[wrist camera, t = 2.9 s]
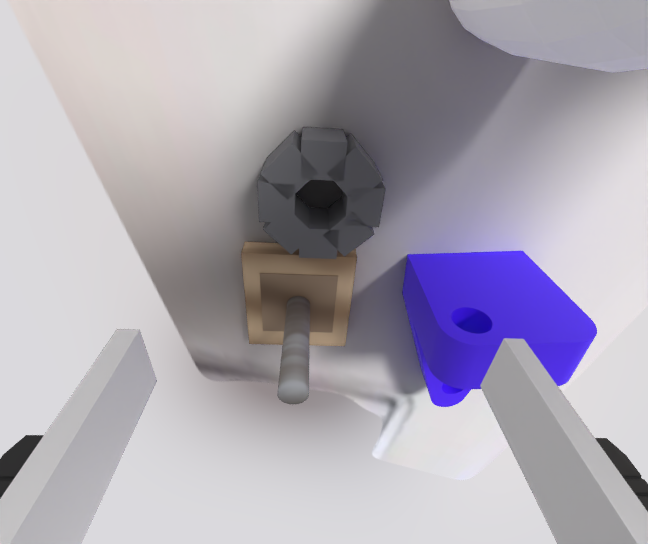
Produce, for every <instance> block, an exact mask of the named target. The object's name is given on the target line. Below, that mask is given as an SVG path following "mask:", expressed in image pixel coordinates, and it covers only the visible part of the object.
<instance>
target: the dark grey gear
mask: <svg viewBox="0 0 648 544" xmlns="http://www.w3.org/2000/svg"><path fill="white" fill-rule="evenodd" d="M310 180H330V181H334V182H335V183H336V184H337V185H338V186H339V187H340V188H341V190H342V197H341V198H340V199H338V200H337V201H336V202H335V203H334V204H332V205H331V206H330V207H329V208H311V207H309V206H308V205H307V204H306V203H305V202H304V201H303V200H302V199H301V198H300V197H299V196H298V195H297V192H298V191H299V190H300V189H301V188H302V187H303V186H304V185H305V184H306V183H308V182H309V181H310ZM382 181H383V179H382V177H381V175H380V173H379V171H378V169H377V167H376V165H375V163H374V162H373V161H372V159H371V158H370V157H369V155H368V154H367V153H366V152H365V150H364V149H363V148H362V147H361V145H360V144H359V143H358V142H357V140H356V139H355V138H354V137H353V135H352V134H350V135H349V136H348V137H345V134H344V131H343V129H329V128H312V127H303V131H302V138H301V137H300V136H299V134H298V133H297V132H296V131H295V130H294V131H293V132H292V133H291V134H290V135H289V136H288V137H287V138H286V139H285V140H284V141H283V142H282V143H281V144H280V145H279V146H278V147H277V148H276V149H275V150H274V151H273V152H272V153H271V154H270V155H269V156H268V157H267V159H266V162H265V164H264V166H263V169H262V171H261V174H260V177H259V179H258V182H257V189H258V208H259V222H265V224H264V228H263V230H264V231H265V232H266V233H268V234H269V235H270V236H271V237H272V238H273V239H274V240H275V241H276V242H278V243H279V244H280V245H281V246H282V247H283V248H284V249H285V250H287V251H288V252H289V253H290V254H292V253H294V252H295V251H296V250H297V249H299V258H321V259H336V257H337V250H338V251H339V252H340V253H341V254H342V255H343V256H344V257H345V256H346V255H347V254H349V253H350V252H351V251H353V250H354V249H355V248H357V247H358V246H359V245H361V244H362V243H363V242H365V241H366V240H367V239H369V238H370V237H371V236H373V235H374V231H373V228H372V227H379V224H380V218H381V212H382V206H383V200H384V194H385V187H384V185H383V183H382Z"/></svg>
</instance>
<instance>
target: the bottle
mask: <svg viewBox="0 0 648 544" xmlns="http://www.w3.org/2000/svg"><path fill="white" fill-rule="evenodd" d="M449 2H450V6H451V9H452V10H453V12H454V13H455V15H456V17H457V18H458V20H459V21H460V23H461V24H462V26H463V27H464V28H465V29H466V30H467V31H469V32H470V33H472V34H473V35H475V36H476V37H478V38H479V39H481V40H482V41H484V42H487V43H489V44H491V45H493V46H495V47H497V48H499V49H501V50H503V51H505V52H507V53H509V54H511V55H515V56H521V57H526V58H532V59H537V60H543V61H548V62H554V63H560V64H565V65H571V66H576V67H582V68H588V69H594V70H599V71H605V72H611V73H617V72H625V71H633V70H641V69H648V0H449Z"/></svg>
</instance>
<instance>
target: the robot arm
mask: <svg viewBox="0 0 648 544" xmlns="http://www.w3.org/2000/svg"><path fill="white" fill-rule="evenodd" d="M156 381H157V380H156V377H155V374H154V371H153V369H152V365H151V362H150V359H149V356H148V353H147V350H146V347H145V344H144V341H143V339H142V336H141V333H140V330H129V329H117V330H116V331H115V333H114V334H113V336H112V337H111V339H110V340H109V342H108V343H107V344H106V346H105V347H104V349H103V350H102V352H101V353H100V355H99V356H98V357H97V359H96V360H95V362H94V363H93V365H92V366H91V368H90V369H89V371H88V372H87V373H86V375H85V376H84V378H83V379H82V381H81V382H80V384H79V385H78V387H77V388H76V390H75V391H74V392H73V394H72V395H71V397H70V398H69V400H68V401H67V403H66V404H65V406H64V407H63V408H62V410H61V411H60V413H59V414H58V416H57V417H56V419H55V420H54V422H53V423H52V424H51V426H50V427H49V429H48V430H47V432H46V433H45V435H40V436H39V435H38V436H37V435H26V436H25V437H24V438H22V439H21V440H20V441H19V442H18V443H16V444H15V445H14V446H13V447H12V448H11V449H9V450H8V451H7V452H6V453H5V454H4V455H3V456H2V458H1V459H0V544H81V543H82V541H83V539H84V537H85V534H86V532H87V530H88V528H89V526H90V524H91V522H92V520H93V517H94V515H95V513H96V511H97V509H98V507H99V504H100V502H101V500H102V498H103V495H104V493H105V491H106V489H107V487H108V485H109V483H110V481H111V479H112V476H113V474H114V472H115V470H116V468H117V466H118V463H119V461H120V459H121V457H122V455H123V453H124V451H125V448H126V446H127V444H128V442H129V440H130V438H131V435H132V433H133V431H134V429H135V427H136V424H137V422H138V420H139V418H140V416H141V414H142V412H143V409H144V407H145V405H146V403H147V401H148V398H149V396H150V394H151V392H152V390H153V388H154V386H155V384H156ZM480 387H481V389H482V391H483V393H484V395H485V397H486V399H487V401H488V403H489V405H490V407H491V409H492V411H493V413H494V415H495V417H496V419H497V421H498V423H499V425H500V428H501V430H502V432H503V434H504V436H505V438H506V440H507V442H508V444H509V446H510V448H511V450H512V452H513V454H514V456H515V458H516V460H517V462H518V464H519V466H520V468H521V470H522V472H523V474H524V476H525V479H526V481H527V483H528V485H529V487H530V489H531V491H532V493H533V495H534V497H535V499H536V500H537V503H538V505H539V507H540V509H541V511H542V513H543V515H544V517H545V519H546V521H547V523H548V525H549V527H550V530H551V532H552V534H553V536H554V538H555V540H556V542H557V544H648V484H647V482H646V481H645V480H643V479H642V478H641V475H640V473H639V472H638V471H637V469H636V468H635V467H634V465H633V464H632V463H631V461H630V460H629V459H628V457H627V456H626V455H625V454H624V453H623V452H621V451H620V450H619V449H618V448H617V447H616V446H615V445H614V444H612V443H611V442H610V441H609V440H608V439H607V438H594V436H593V435H592V433H591V432H590V431H589V429H588V428H587V426H586V425H585V424H584V422H583V421H582V419H581V418H580V417H579V415H578V414H577V413H576V411H575V410H574V408H573V407H572V406H571V404H570V403H569V401H568V400H567V399H566V397H565V396H564V394H563V393H562V392H561V390H560V389H559V387H558V386H557V385H556V383H555V382H554V380H553V379H552V378H551V376H550V375H549V373H548V372H547V371H546V369H545V368H544V366H543V365H542V364H541V362H540V361H539V359H538V358H537V357H536V355H535V354H534V353H533V351H532V350H531V348H530V347H529V346H528V344H527V343H526V341H525V340H524V339H510V338H504V339H503V341H502V343H501V345H500V347H499V349H498V351H497V353H496V355H495V357H494V359H493V361H492V363H491V365H490V367H489V369H488V371H487V373H486V375H485V377H484V379H483V381H482V383H481V385H480Z"/></svg>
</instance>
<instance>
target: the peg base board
mask: <svg viewBox="0 0 648 544" xmlns="http://www.w3.org/2000/svg"><path fill="white" fill-rule="evenodd" d="M241 258H242V269H243V280H244V291H245V302H246V313H247V324H248V334H249V344H278V345H283V346H282V356H281V366H280V375H279V385H278V398H279V399H280V400H281V401H282V402H284V403H288V404H299V403H302V402H304V401H305V400H306V399H307V398H308V396H309V395H308V394H309V345H320V346H345V343H346V335H347V328H348V321H349V313H350V306H351V298H352V291H353V283H354V276H355V269H356V261H357V255H356V250H355V249H354V250H353V251H351V252H350V253H349V254H347V255H346V256H345V257H344V256H343V255H342V254H341V253H340V252H339V251H338V250H337V257H336V259H321V258H299V249H297V250H296V251H295V252H294V253H292V254H290V253H289V252H288V251H287V250H285V249H284V248H283V247H282V246H281V245H280V244H279V243H266V242H245V243H244V246H243V249H242V252H241Z"/></svg>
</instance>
